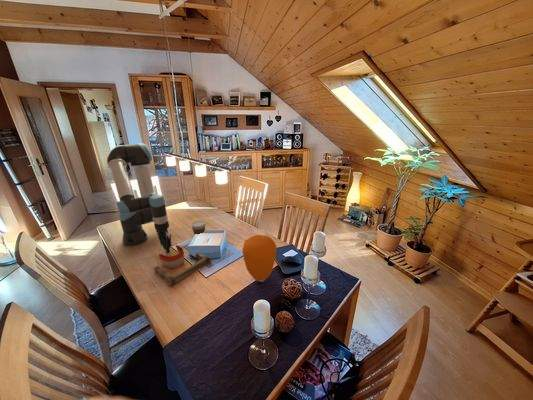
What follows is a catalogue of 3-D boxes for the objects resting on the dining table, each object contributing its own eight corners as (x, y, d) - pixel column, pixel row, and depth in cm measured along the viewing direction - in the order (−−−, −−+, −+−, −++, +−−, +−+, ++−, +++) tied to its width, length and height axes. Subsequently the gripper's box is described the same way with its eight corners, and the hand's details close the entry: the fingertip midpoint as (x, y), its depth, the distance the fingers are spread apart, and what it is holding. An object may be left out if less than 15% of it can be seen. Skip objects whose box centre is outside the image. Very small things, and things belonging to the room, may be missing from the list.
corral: (153, 274, 124) (152, 268, 123) (193, 252, 144) (192, 247, 142) (170, 287, 115) (169, 281, 113) (210, 262, 134) (210, 256, 132)
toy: (171, 273, 125) (169, 261, 122) (160, 266, 131) (158, 255, 128) (190, 261, 135) (188, 250, 132) (179, 255, 140) (177, 244, 137)
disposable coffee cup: (203, 243, 154) (201, 227, 149) (190, 241, 155) (188, 226, 151) (209, 236, 162) (207, 221, 158) (197, 234, 164) (195, 220, 160)
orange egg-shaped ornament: (246, 268, 128) (244, 230, 119) (276, 269, 127) (276, 230, 118) (242, 291, 112) (239, 248, 103) (276, 291, 111) (276, 248, 102)
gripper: (149, 221, 129) (156, 255, 138) (160, 227, 122) (168, 263, 131) (161, 216, 135) (168, 250, 143) (173, 222, 127) (179, 257, 136)
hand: (168, 256), depth 137 cm, fingers closed
